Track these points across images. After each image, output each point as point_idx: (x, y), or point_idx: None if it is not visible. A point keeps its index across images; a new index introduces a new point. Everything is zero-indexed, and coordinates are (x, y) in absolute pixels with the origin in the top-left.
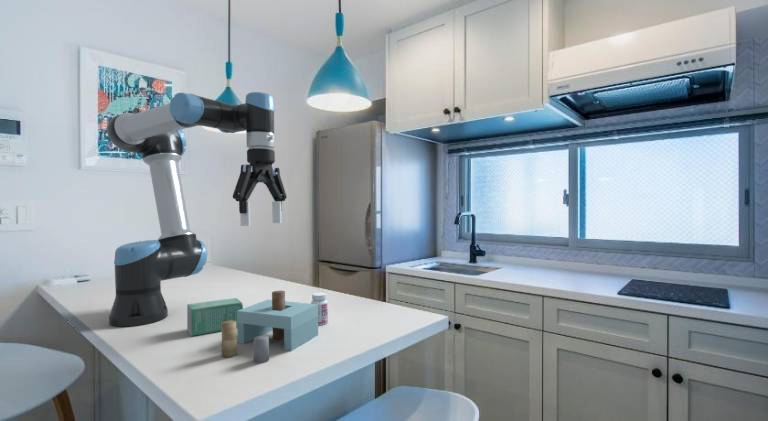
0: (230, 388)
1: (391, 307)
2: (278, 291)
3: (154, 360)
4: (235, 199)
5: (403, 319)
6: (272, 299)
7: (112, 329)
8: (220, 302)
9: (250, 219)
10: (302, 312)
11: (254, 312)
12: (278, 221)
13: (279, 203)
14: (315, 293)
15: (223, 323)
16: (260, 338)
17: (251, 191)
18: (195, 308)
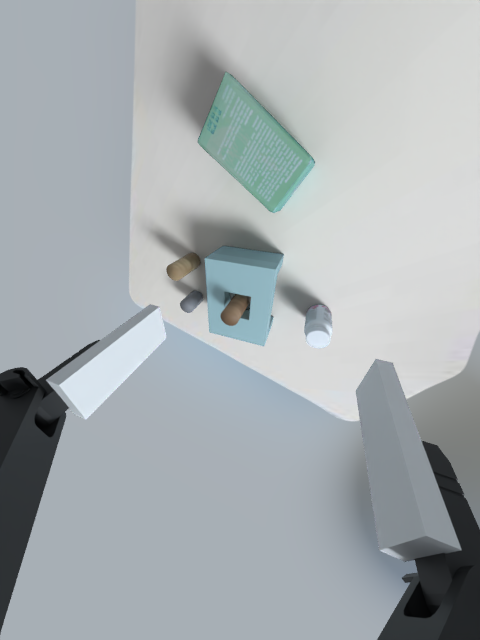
0: (155, 297)
1: (410, 388)
2: (232, 317)
3: (148, 182)
4: (3, 374)
5: (342, 393)
6: (225, 307)
7: None
8: (257, 162)
9: (151, 352)
10: (230, 336)
11: (207, 286)
12: (361, 391)
13: (376, 523)
14: (321, 333)
15: (168, 268)
16: (185, 306)
17: (34, 491)
18: (203, 147)
